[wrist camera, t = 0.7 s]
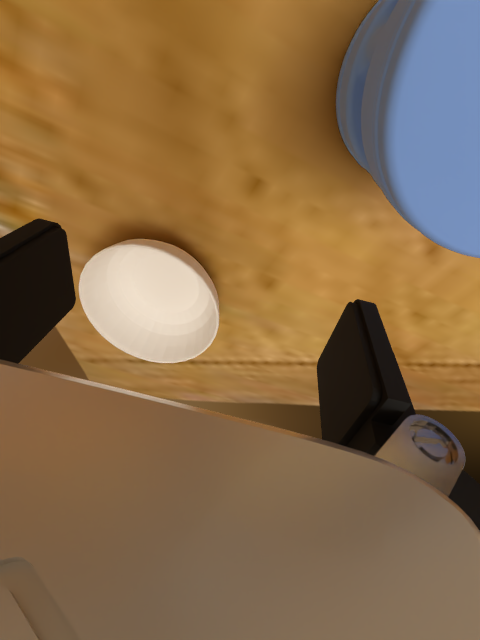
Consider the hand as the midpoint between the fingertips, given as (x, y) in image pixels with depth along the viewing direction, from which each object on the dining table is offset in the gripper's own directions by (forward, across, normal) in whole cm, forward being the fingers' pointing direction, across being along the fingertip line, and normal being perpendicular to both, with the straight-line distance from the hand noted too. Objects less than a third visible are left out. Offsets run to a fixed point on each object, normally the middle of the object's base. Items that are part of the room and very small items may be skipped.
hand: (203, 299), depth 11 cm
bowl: (+30, +10, +20) cm, 37 cm away
